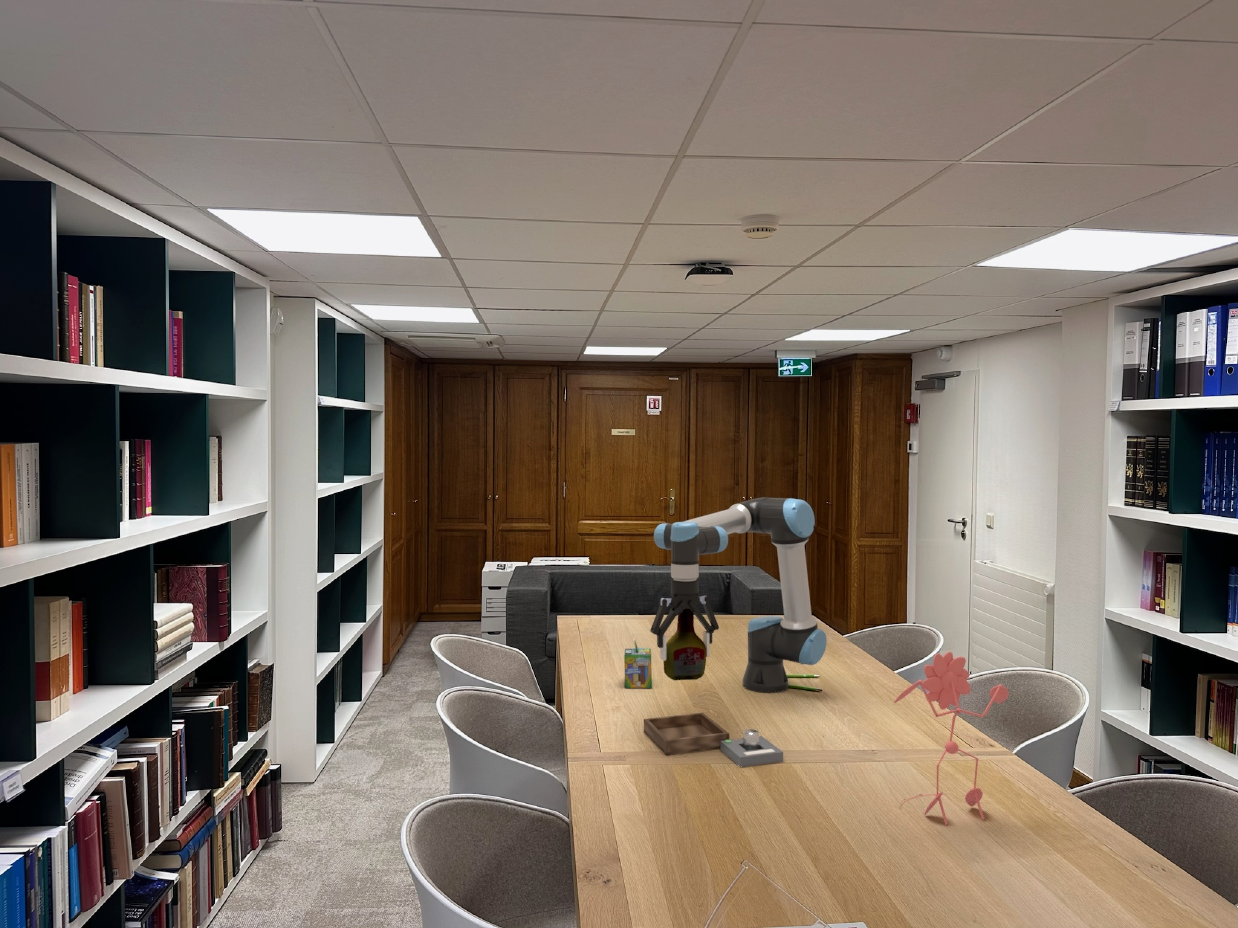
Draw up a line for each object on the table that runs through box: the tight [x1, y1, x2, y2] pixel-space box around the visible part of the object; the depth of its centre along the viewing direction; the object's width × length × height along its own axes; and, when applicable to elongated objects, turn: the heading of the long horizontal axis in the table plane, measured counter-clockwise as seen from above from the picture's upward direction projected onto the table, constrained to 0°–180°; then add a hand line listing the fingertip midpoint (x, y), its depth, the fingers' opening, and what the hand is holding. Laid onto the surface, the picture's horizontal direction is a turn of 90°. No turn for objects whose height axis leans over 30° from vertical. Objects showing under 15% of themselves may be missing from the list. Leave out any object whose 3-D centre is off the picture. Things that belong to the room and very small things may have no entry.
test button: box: [742, 729, 760, 751], centre depth 210 cm, size 4×4×4 cm
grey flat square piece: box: [719, 735, 784, 768], centre depth 210 cm, size 12×12×3 cm
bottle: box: [663, 608, 707, 681], centre depth 221 cm, size 12×6×20 cm, turn 94°
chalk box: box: [623, 640, 653, 689], centre depth 274 cm, size 9×9×15 cm
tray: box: [643, 712, 730, 756], centre depth 222 cm, size 18×18×4 cm
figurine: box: [893, 651, 1009, 825], centre depth 179 cm, size 15×26×35 cm, turn 104°
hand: (684, 657), depth 222 cm, fingers closed on bottle, 12 cm apart
